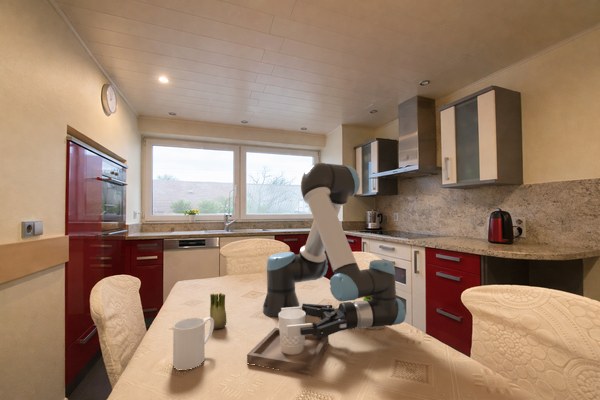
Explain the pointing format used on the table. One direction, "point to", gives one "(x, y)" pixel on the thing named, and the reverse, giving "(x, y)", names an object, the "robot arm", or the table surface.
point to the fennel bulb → (218, 310)
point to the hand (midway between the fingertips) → (283, 321)
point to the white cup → (287, 343)
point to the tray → (273, 357)
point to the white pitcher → (190, 342)
